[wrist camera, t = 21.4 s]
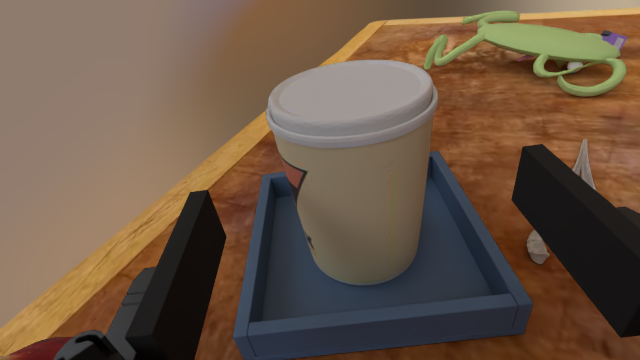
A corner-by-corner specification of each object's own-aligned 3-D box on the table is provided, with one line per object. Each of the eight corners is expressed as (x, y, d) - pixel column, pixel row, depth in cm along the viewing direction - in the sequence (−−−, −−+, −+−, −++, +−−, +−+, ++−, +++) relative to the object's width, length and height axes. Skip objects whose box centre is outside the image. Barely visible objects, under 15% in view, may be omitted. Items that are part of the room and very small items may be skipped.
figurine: (475, 37, 65) (478, 4, 62) (660, 56, 47) (679, 10, 43) (408, 67, 57) (408, 31, 54) (601, 105, 38) (618, 52, 35)
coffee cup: (310, 204, 30) (282, 66, 24) (422, 201, 29) (427, 51, 22) (289, 296, 23) (239, 130, 16) (439, 299, 21) (454, 115, 14)
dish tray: (245, 363, 20) (232, 337, 19) (269, 198, 33) (262, 174, 31) (524, 334, 19) (534, 303, 18) (437, 175, 32) (439, 150, 31)
